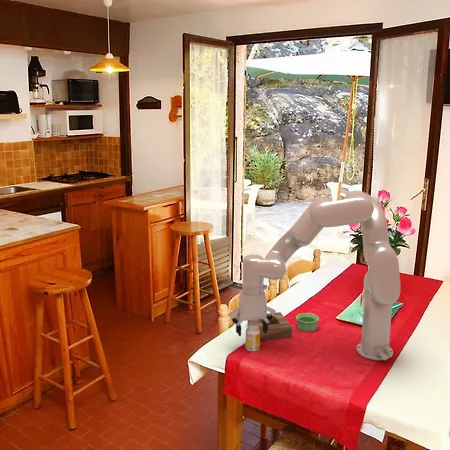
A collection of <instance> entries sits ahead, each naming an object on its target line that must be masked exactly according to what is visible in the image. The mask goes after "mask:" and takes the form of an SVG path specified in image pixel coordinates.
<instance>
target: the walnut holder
mask: <svg viewBox="0 0 450 450" xmlns="http://www.w3.org/2000/svg"><path fill="white" fill-rule="evenodd" d="M269 314H270V312H269V313H268V312H267V316H268V315H269ZM267 316H266V317H267ZM249 322H257V323H258V324H259V328H258V329H259V330H260V340H263V341H269V340H268V339H272V340H279V339H278V338H281V339H289V338H292V337H293V325H291V324H290V322H289V321H288V320H287V318H286V317H285V316H284V315H283V314H282V312H280V311H279V312H275V314H274V316H273V318H272V319H271V320H270V321H269V323H268V330H267V334H265V333H264V332H263V330H262V327H263V319H259V320H247V325H246V326H247V327H248V323H249Z"/></svg>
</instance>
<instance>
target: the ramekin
mask: <svg viewBox="0 0 450 450" xmlns="http://www.w3.org/2000/svg"><path fill="white" fill-rule="evenodd" d="M319 319H320V317H319V316H318V315H316V314H315V313H309V312H305V313H304V312H302V313H299V314H297V315H296V316H295V320H296V327H297V329H298V330H299V331H302V332H310V333H311V332H315V331H316V330H317V329H318V324H319Z"/></svg>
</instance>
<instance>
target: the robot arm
mask: <svg viewBox="0 0 450 450" xmlns="http://www.w3.org/2000/svg"><path fill="white" fill-rule="evenodd" d="M382 207H383V206H381V204H380V203H379V202H378V201H377V200H376V199H375V198H374V197H373V196H372V195H370V194H369V193H367V192H365V191H362V190H352V191H349V192H347V193H346V194H345V196H344V197H343V199H341V200H339V199H338V200H331V199H329V198H326V197H318V198H315V199H314V200H313V201H312V202H311V203H310V204H309V206H308V207H307V208H306V209H305V210H304V212H303V213H302V214H301V215H300V216H299V218H298V219H297V220H296V222H295V223H294V224H293V225H292V226H291V227H290V229H288V230H287V231H286V232H285V233H284V234H283V235H282V236H281V237H280V238H279V239H278V240H277V241H276V242H275V244H274V245H273V246H272V247H271V249H270V250H269V252H267V254H266V255H265V257H263V256H262V255H259V254H247V255H245V256H244V257H243V259H242V283H241V284H242V285H241V286H242V288H241V289H242V291H240V292H239V296H238V302H237V308H235V309H234V310H232V311H231V312H229V313H228V316H229V318H230V320H231V321H232V322H233V323H234V324H235V332H236V334H238V337H241V336H242V325H241V324H242V323H243V322H244V321H248V320H259V319H263V327H262V330H263V332H264V333H265V334H267V330H268V323H269V321H270V320H271V319H272V318H273V316H274V314H275V313H277V312H276V310H275V309H274V308H272V307H269V306H267V297H266V292H265V290H267V289H268V285H267V284H264V281H265V280H264V279H269V280H274V281H276V280H280V279H282V278H283V277H284V276H285V275H286V272H287V271H286V270H287V267H286V263H287V262H288V261H289V260H290V259H291V257H292V256H293V255H294V254H295V253H296V252H297V251H298V250H299V249H301V248H303V247H307V246H309V245H310V244H312V242H313V241H314V240H315V238H317V236H318V235H319V233H321V231H322V230H323V229H324V228H335V227H342V226H349V225H354V224H355V225H356V224H360V228H361V229H360V230H361V235H362V236H361V237H362V247H363V250H362V251H363V258H364V261H365V262H366V263H367V266H368V271H367V272H366V273H365V275H364V279H363V313H362V327H361V328H362V329H361V342H360V343H358V344H357V345H356V352H357V354H358V355H359V356H361V357H363V358H365V359H368V360H373V361H387V360H390V359H391V358H393V355H394V351H393V349H392V347H390V337H391V324H392V323H391V321H392V310H393V304H394V303H395V302H396V301H397V300H398V299H399V298H400V294H401V276H400V263H399V259H398V258H399V257H398V255H397V253H396V251H395V249H394V248H393V247H392V246H391V245H390V243H391V242H390V239H389V231H388V222H387V217H386V214H385V211H384V209H383V208H382ZM268 312H269V313H270V314H269V315H268V316H267V313H268ZM236 315H237V316H238V317H237V318H235V316H236ZM266 316H267V317H266Z"/></svg>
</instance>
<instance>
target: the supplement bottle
mask: <svg viewBox="0 0 450 450" xmlns="http://www.w3.org/2000/svg"><path fill="white" fill-rule="evenodd" d="M258 328H259V324H258V323H257V322H249V323H248V326H247V328H246V330H245V350H247V351H249V352H257V351H259V350H261V349H260V348H261V341H260V330H259V329H258Z"/></svg>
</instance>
